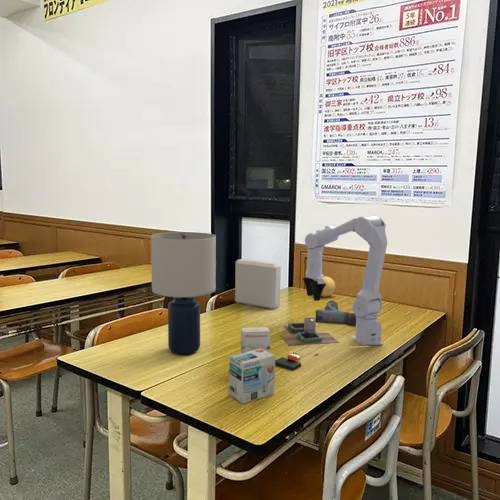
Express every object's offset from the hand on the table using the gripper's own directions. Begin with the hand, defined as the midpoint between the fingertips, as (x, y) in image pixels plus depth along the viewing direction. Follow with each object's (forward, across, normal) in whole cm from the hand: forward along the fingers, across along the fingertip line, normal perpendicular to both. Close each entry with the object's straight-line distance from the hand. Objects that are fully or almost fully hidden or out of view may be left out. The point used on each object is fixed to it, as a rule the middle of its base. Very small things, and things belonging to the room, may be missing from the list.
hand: (313, 297), depth 184 cm
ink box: (+11, -38, +32) cm, 51 cm away
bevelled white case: (+11, +31, +15) cm, 36 cm away
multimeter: (+11, -34, +18) cm, 40 cm away
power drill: (+11, +6, -14) cm, 19 cm away
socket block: (+10, -8, +8) cm, 15 cm away
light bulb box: (+11, -56, +37) cm, 68 cm away
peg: (+10, -19, +8) cm, 23 cm away
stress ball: (+11, +41, -21) cm, 47 cm away
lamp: (+11, -21, +52) cm, 57 cm away
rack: (+10, -19, +8) cm, 23 cm away
